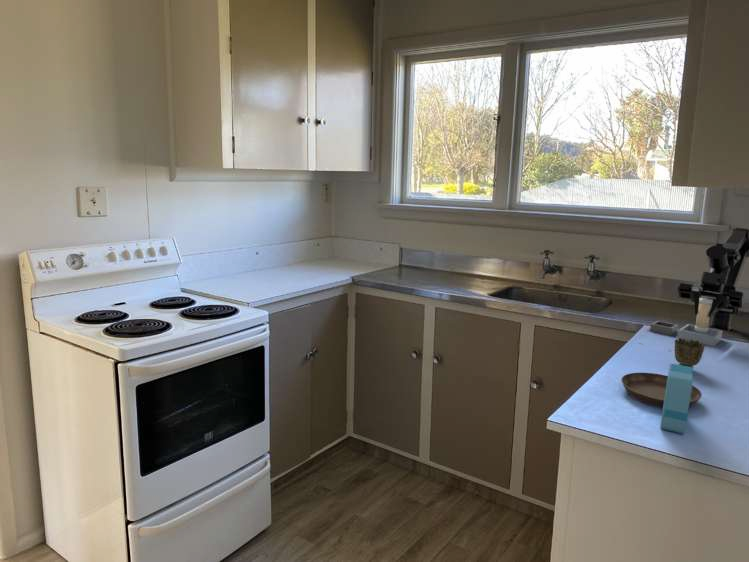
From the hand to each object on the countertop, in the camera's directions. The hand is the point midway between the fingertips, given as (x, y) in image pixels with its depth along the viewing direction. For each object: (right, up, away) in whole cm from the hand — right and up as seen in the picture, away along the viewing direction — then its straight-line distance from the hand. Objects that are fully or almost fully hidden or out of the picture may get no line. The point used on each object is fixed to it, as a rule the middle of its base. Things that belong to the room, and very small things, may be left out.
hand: (702, 315), depth 183 cm
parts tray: (+1, -9, +3) cm, 9 cm away
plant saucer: (-36, -18, -44) cm, 60 cm away
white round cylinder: (+1, -5, +2) cm, 6 cm away
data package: (-41, -20, -59) cm, 74 cm away
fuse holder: (-8, -7, +10) cm, 14 cm away
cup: (-19, -14, -24) cm, 33 cm away
